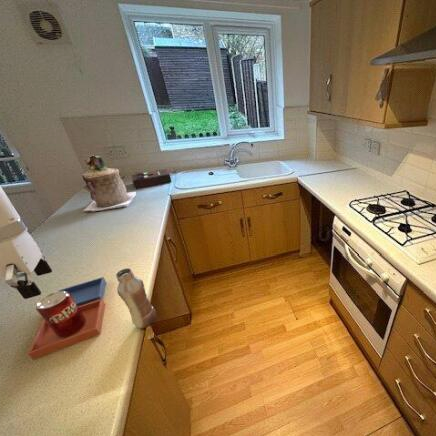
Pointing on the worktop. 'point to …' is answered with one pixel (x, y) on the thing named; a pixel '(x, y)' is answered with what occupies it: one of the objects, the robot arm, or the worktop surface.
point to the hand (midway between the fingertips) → (39, 284)
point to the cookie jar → (105, 186)
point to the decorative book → (151, 179)
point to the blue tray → (87, 291)
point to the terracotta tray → (51, 342)
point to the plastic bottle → (135, 298)
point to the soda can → (61, 313)
